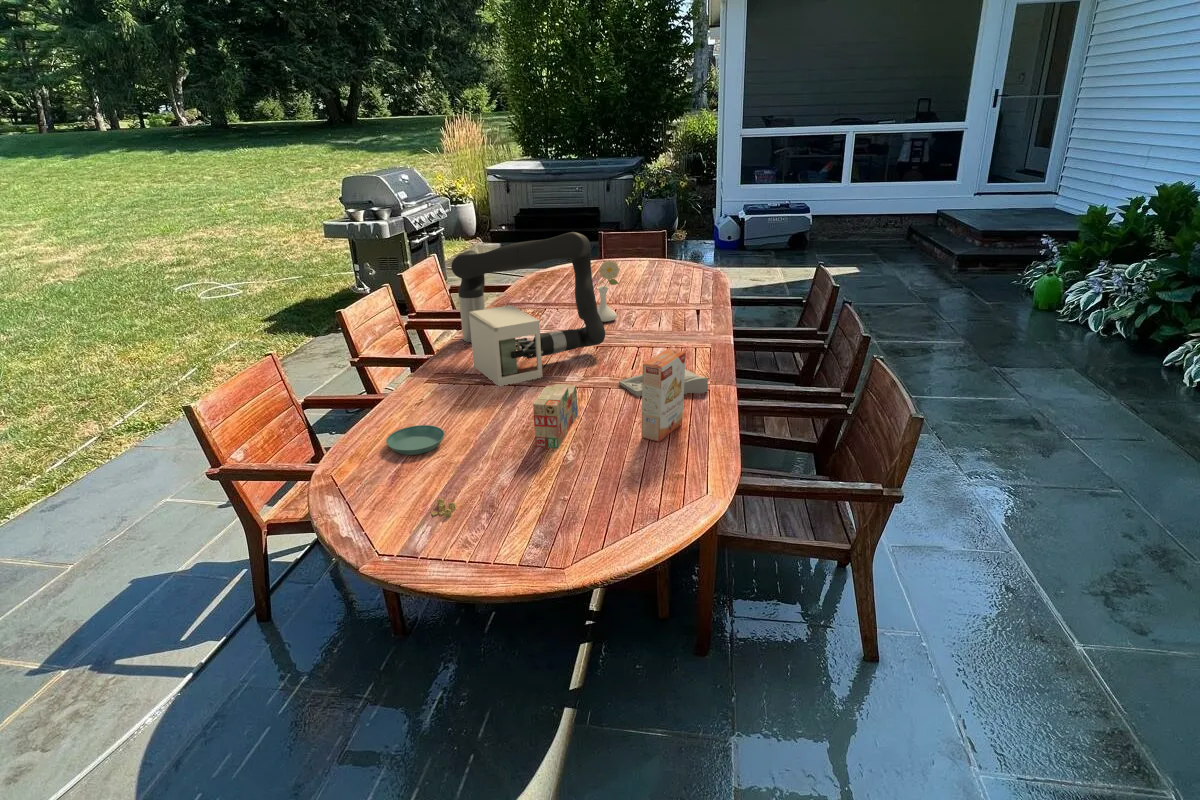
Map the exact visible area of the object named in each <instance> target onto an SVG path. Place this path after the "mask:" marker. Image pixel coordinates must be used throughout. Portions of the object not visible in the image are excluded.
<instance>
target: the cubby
mask: <svg viewBox="0 0 1200 800" xmlns="http://www.w3.org/2000/svg"><path fill="white" fill-rule="evenodd" d="M469 321H470V331H471V341H472V343H471V348H472V349H471V350H472V361H473V368H475V369H477V370H478V371H479V372H480V373H481V374H483V375H484V376H485V377H486V378H487V377H488V378H487V379H488V380H490V381H491V380H492V381H493V382H492V381H491V382H492V383H494V384H495V386H497V385H498V386H500V387H504V385H505V386H509V385H508V384H510V385H514V384H518V382H519V383H522V382H521V381H524V382H527V381H526V380H528V381H533V380H537V378H538V379H542V378H543V366H542V365H543V364H542V361H543V360H542V356H541V342H540V334H541V330H540V329H541V327H540V320H539V319H537V318H536V317H534V316H532V315H530V314H528V313H526V312H525V311H523V310H520V309H519V308H518V307H515V306H514V305H511V304H510V305H504V306H498V307H492V308H485V309H484V310H477V311H471V312H469ZM527 336H534V337H535V342H536V357H535V359H536V369H535V370H529V371H526V372H525V371H524V372H521V373H514V374H509V375H504V376H502V374H501V362H500V350H499V341H500V340H506V339H511V338H515V339H516V338H517V339H518V338H522V337H527ZM541 377H542V378H541ZM532 379H533V380H532ZM513 383H514V384H513Z"/></svg>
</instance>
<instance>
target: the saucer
mask: <svg viewBox="0 0 1200 800" xmlns="http://www.w3.org/2000/svg"><path fill="white" fill-rule="evenodd" d="M445 435H446V434H445V431H444V430H443V428H441V427H438V426H435V425H428V424H427V425H426V424H422V425H413V426H408V427H404V428H401V429H398V430H396V431H394V432H392V433H391V434H389V435H388V436H387V438H386V439H385V443H386V445H387V446H388V447H389V448H390V449H391V450H393V451H394V452H396V453H398V454H401V455H405V456H414V455H421V454H425V453H429V452H430V451H433V450H434V449H436V448H437V447H438V446H439V445H440V444H441V442H442V441H443V440H444V438H445Z"/></svg>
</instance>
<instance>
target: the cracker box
mask: <svg viewBox="0 0 1200 800" xmlns="http://www.w3.org/2000/svg"><path fill="white" fill-rule="evenodd" d="M686 354H687V353H686V352H685V351H682V350H675V349H670V348H667V349H665V350H663V351H662V352H660V353H658V354H657V355H655V356H653V357H651V358H650V359H648V360H647V361H645V362H643V363H642V374H643V382H642V397H641V432H640V433H641V434H640V435H641V438H642V439H646V440H650V441H653V442H654V441H655V442H658V443H660V442H661V441H663V440H664V439H665V438H666V437H667V436H669V435H670V434H671V433H672V432H673V431H674V430H676V429H678V427H680V426H681V425H682V424H683V419H684V417H683V415H684V413H683V412H684V401H685V400H684V399H685V397H684V395H685V394H684V379H685V369H686V359H687V358H686V356H687V355H686ZM680 424H681V425H680Z"/></svg>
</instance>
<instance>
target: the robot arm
mask: <svg viewBox="0 0 1200 800" xmlns="http://www.w3.org/2000/svg"><path fill="white" fill-rule="evenodd" d="M591 253H592V251H591V242H590V240H589V239H588V237H587V236H585V235H584V234H582V233H579V232H575V231H571V232H567V233H566V232H565V233H563V234H559V235H557V236H553V237H550V238H545V239H538V240H537V239H535V240H527V241H520V242H514V243H510V244H507V245H503V246H499V247H496V248H494V249H491V250H489V251H485V252H481V253H479V252H477V251H474V250H467V251H464V252H462V253H460V254H458V255H456V256H455V257H454V259H453V260H452V262H451V271H452V273H453V275H455V276H456V277H457V278H459V279H460V280H461V282H460V284H459V287H458V290H457V292H458V301H459V302H458V303H459V312H460V322H461V331H462V340H464V341H463V342H465V341H466V342H465V343H469V342H471V344H472V341H471V331H470V321H469V312H471V311H477V310H484V309H486V308H485V295H484V290H485V285H486V283H485V281H486V279H485V274H489V273H490V274H491V273H501V272H509V271H511V272H512V271H518V270H523V269H529V268H532V267H535V266H538V265H541V264H543V263H546V262H548V261H554V260H570V262H571V263H572V267H573V270H574V298H575V299H574V300H575V306H576V310H577V314H578V318H579V319H580V320H582V321H583V323H584V326H583V327H579V328H575V329H565V330H559V331H550V332H545V333H540V342H541V357H546V356H551V355H555V354H556V355H557V354H560V353H562V352H567V351H573V350H576V349H578V348H579V349H580V348H588V347H592V346H598V345H600V344H602V343H603V342H604V341H605V338H606V330H605V326H604V323H603V322H602V320H601V318H600V316H599V314H598V310H597V308H598V306H597V305H598V304H597V300H596V299H597V298H596V295H595V290H594V288H595V287H594V284H593V275H592V263H591V260H592V259H591ZM515 344H516V351H513V352H511V358H512V359H514V358H517V359H519V358H526V359H533V358H536V342H535V336H534V337H533V340H530V339H528V338H527V337H524V338H517V339H516V338H515Z"/></svg>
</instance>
